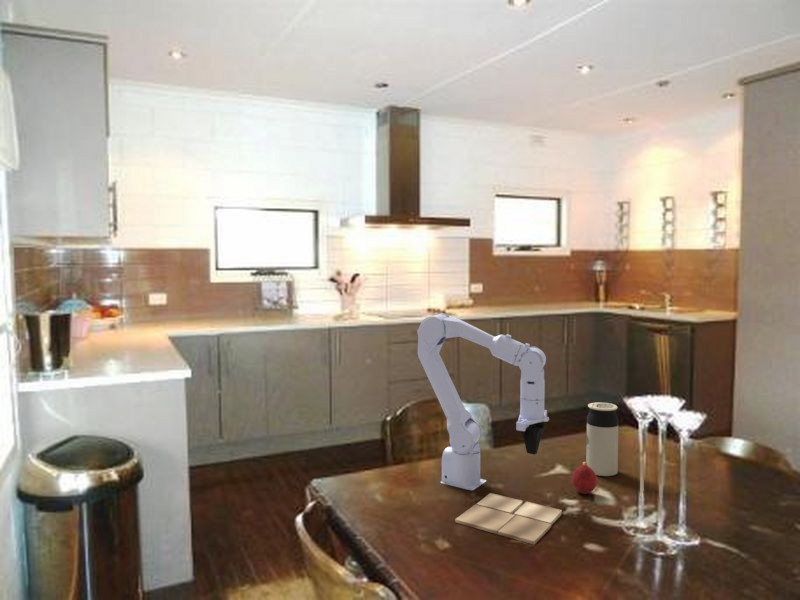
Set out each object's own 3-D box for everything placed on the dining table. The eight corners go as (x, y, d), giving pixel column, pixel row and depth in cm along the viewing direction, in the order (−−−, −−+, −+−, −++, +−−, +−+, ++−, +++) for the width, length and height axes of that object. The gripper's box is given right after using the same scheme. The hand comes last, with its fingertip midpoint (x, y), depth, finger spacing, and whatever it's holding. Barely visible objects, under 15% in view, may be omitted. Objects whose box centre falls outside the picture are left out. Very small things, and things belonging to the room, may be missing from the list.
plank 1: (476, 508, 134) (476, 503, 134) (490, 497, 140) (490, 492, 140) (510, 517, 129) (510, 512, 129) (523, 506, 135) (523, 500, 135)
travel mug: (620, 469, 158) (621, 404, 157) (613, 479, 151) (614, 410, 150) (590, 464, 162) (591, 400, 161) (582, 473, 156) (583, 406, 155)
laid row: (454, 524, 126) (454, 519, 126) (474, 509, 134) (474, 504, 134) (534, 547, 116) (534, 541, 116) (551, 529, 123) (551, 524, 123)
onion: (598, 500, 138) (598, 467, 138) (573, 498, 139) (573, 465, 139) (595, 490, 144) (595, 459, 143) (571, 489, 145) (571, 457, 145)
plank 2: (513, 518, 129) (513, 513, 129) (526, 506, 134) (526, 501, 134) (550, 528, 124) (550, 522, 124) (562, 515, 130) (562, 510, 130)
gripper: (536, 406, 133) (536, 464, 134) (558, 394, 145) (558, 448, 146) (508, 402, 137) (507, 459, 138) (532, 390, 149) (531, 443, 150)
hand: (532, 453), depth 142 cm, fingers closed
